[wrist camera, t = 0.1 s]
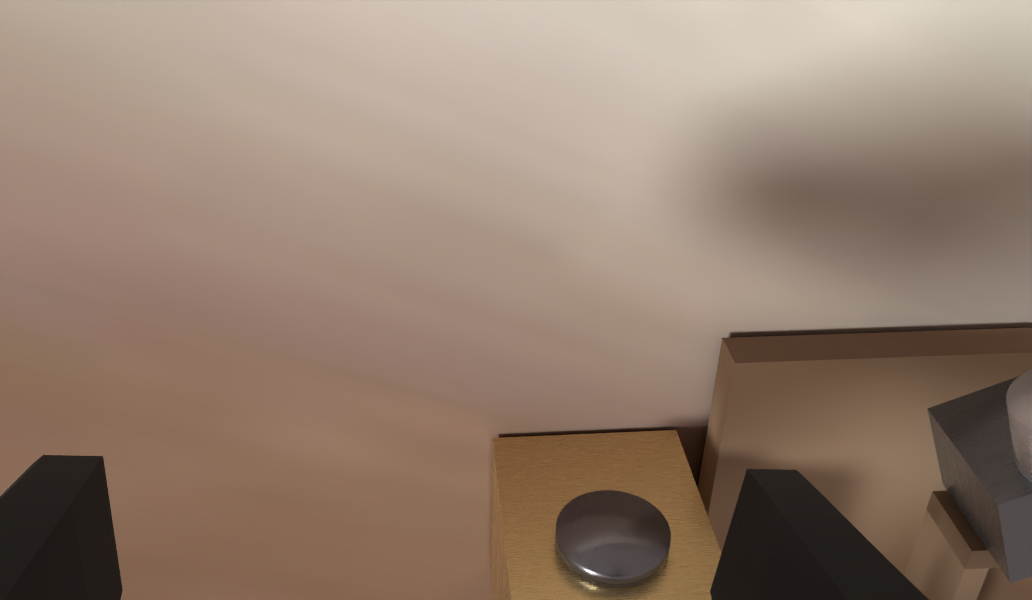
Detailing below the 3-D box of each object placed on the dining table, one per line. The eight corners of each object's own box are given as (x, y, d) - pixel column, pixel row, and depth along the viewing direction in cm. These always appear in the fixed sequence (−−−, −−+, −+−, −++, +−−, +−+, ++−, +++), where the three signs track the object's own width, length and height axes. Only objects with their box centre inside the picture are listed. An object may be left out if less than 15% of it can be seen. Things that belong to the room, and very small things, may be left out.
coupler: (656, 570, 26) (709, 758, 22) (490, 580, 26) (509, 773, 21) (678, 417, 23) (744, 594, 19) (492, 425, 23) (514, 608, 18)
